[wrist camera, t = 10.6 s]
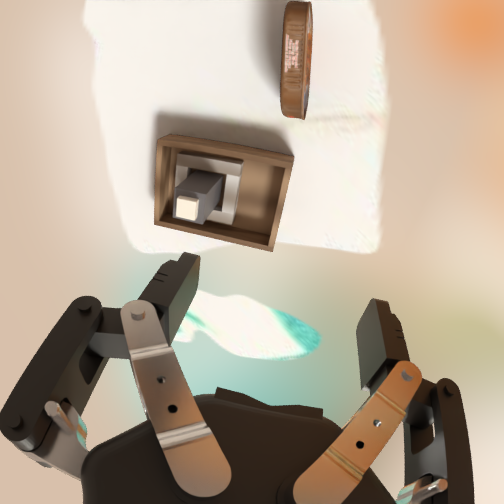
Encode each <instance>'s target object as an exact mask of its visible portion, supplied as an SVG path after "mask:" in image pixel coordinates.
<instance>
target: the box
mask: <svg viewBox="0 0 504 504" xmlns="http://www.w3.org/2000/svg"><path fill="white" fill-rule="evenodd" d="M293 162H294V156H290V155H286V154H281V153H277V152H272V151H267V150H263V149H258V148H253V147H247V146H242V145H237V144H231V143H225V142H220V141H214V140H207V139H201V138H194V137H187V136H180V135H172V134H169V135H167V136H164V137H162V138H160V139H158V141H157V156H156V175H155V204H154V225H158V226H162V227H167V228H171V229H175V230H180V231H184V232H188V233H193V234H197V235H201V236H206V237H210V238H214V239H219V240H223V241H227V242H231V243H236V244H240V245H244V246H249V247H253V248H258V249H261V250H266V251H270V252H273V248H274V244H275V240H276V236H277V232H278V228H279V223H280V219H281V215H282V210H283V206H284V202H285V198H286V193H287V189H288V185H289V180H290V176H291V171H292V167H293ZM196 170H201V171H207V172H212V173H217V174H221V175H224V176H223V182H222V189H221V196H220V201H219V203H218V204H217V205H216V207H215V208H214V209H213V211H212V212H211V214H210V215H209V216H208V218H207V219H206V221H205V222H204V223H203V224H199V223H194V222H190V221H186V220H181V219H177V218H173V205H174V191H175V187H176V186H178V185H179V184H180V183H181V182H182V181H184V180H185V179H186V178H187V177H188V176H190V175H191V174H192V173H193V172H194V171H196Z"/></svg>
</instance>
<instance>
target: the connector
mask: <svg viewBox="0 0 504 504" xmlns="http://www.w3.org/2000/svg"><path fill="white" fill-rule="evenodd" d="M223 176H224V175H221V174H217V173H212V172H207V171H201V170H196V171H194V172H193V173H192V174H191V175H190V176H188V177H187V178H186V179H185V180H184V181H182V182H181V183H180V184H179V185H178V186H176V187H175V191H174V205H173V218H177V219H181V220H186V221H190V222H194V223H199V224H203V223H204V222H205V221H206V219H207V218H208V216H209V215H210V214H211V212H212V211H213V209H214V208H215V207H216V205H217V204H218V203H219V201H220V196H221V189H222V182H223Z"/></svg>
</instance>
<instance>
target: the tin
mask: <svg viewBox="0 0 504 504" xmlns="http://www.w3.org/2000/svg"><path fill="white" fill-rule="evenodd" d="M312 30H313V18H312V4H311V2H298V1H291V2H288V3H287V5H286V8H285V14H284V23H283V40H282V59H281V82H280V102H281V110H282V113H283V115H284V116H286V117H290V118H300V119H303V120H305V116H306V111H307V106H308V97H309V85H310V70H311V54H312V32H313V31H312Z"/></svg>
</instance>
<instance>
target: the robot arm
mask: <svg viewBox="0 0 504 504" xmlns="http://www.w3.org/2000/svg"><path fill="white" fill-rule="evenodd" d="M199 269H200V256H198V255H195V254H191V253H187V252H184V253H183V254H182V255H181V257H180V258H179V260H178V261H174V260H170V261H168V262H166V263H164V264H163V265H162V266H161V267H160V269H159V270H158V271H157V273H156V274H155V276H154V277H153V279H152V280H151V281H150V282H149V284H148V285H147V287H146V288H145V289H144V291H143V292H142V294H141V295H140V297H139V298H138V300H133V301H130V302H128V303H126V304H125V305H124V306H123V307H122V308H106V307H102V305H101V302H100V301H99V300H98V299H97V298H95V297H92V296H82V297H79V298H77V299H75V300H74V301H73V302H72V303H71V304H70V306H69V307H68V308H67V310H66V311H65V313H64V314H63V315H62V317H61V318H60V319H59V321H58V322H57V324H56V325H55V326H54V328H53V329H52V330H51V332H50V333H49V335H48V336H47V338H46V339H45V341H44V342H43V343H42V345H41V346H40V348H39V349H38V351H37V353H36V354H35V355H34V357H33V359H32V360H31V362H30V363H29V365H28V366H27V368H26V369H25V371H24V373H23V374H22V376H21V377H20V379H19V381H18V382H17V384H16V386H15V387H14V389H13V391H12V392H11V394H10V396H9V398H8V399H7V401H6V403H5V405H4V407H3V409H2V410H1V412H0V430H1V432H2V434H3V435H4V436H5V437H6V438H7V439H8V440H9V441H11V442H12V443H13V444H14V445H15V446H16V447H17V448H18V449H19V450H20V451H22V452H23V453H24V454H26V455H27V456H28V457H29V458H31V459H32V460H34V461H36V462H38V463H39V464H40V465H42V466H44V467H49V468H51V467H54V468H56V469H58V470H59V471H61V472H63V473H65V474H67V475H69V476H71V477H73V478H75V479H77V480H79V481H81V483H82V489H83V504H475V503H474V482H473V471H472V460H471V451H470V444H469V437H468V430H467V425H466V419H465V413H464V409H463V403H462V399H461V394H460V390H459V388H458V386H457V385H456V383H454V382H453V381H452V380H450V379H448V378H443V379H440V380H439V381H438V382H437V383H436V384H435V383H432V382H430V381H428V380H425V379H423V378H422V374H421V371H420V370H419V368H418V367H417V366H416V365H415V364H413V363H412V362H410V359H409V354H408V350H407V346H406V342H405V340H404V334H403V332H402V331H403V330H402V326H401V323H400V321H399V320H398V318H397V317H396V315H395V314H392V313H391V311H390V307H389V304H388V302H387V301H383V300H379V299H374V298H373V299H371V300H370V302H369V304H368V306H367V308H366V310H365V312H364V313H363V315H362V317H361V319H360V321H359V323H358V326H357V330H356V336H357V346H358V356H359V366H360V379H361V390H364V391H370V396H369V397H368V399H367V400H366V401H365V402H364V403H363V405H362V406H361V407H360V408H359V409H358V411H357V412H356V413H355V414H354V416H352V417H351V419H350V420H349V421H348V422H347V423H346V424H345V425H344V426H343V427H342V428H340V427H339V426H338V425H336V423H334V422H333V421H331V420H329V419H327V418H325V417H323V409H321V408H314V407H308V406H302V405H283V406H270V405H267V404H265V403H263V402H260V401H258V400H256V399H254V398H252V397H250V396H247V395H245V394H243V393H239V392H235V391H231V390H227V389H223V388H219V387H217V389H216V393H215V394H201V395H196V396H192V393H191V391H190V389H189V386H188V384H187V382H186V379H185V377H184V375H183V372H182V370H181V367H180V365H179V363H178V360H177V358H176V355H175V352H174V350H173V348H172V347H171V346H170V345H171V343H172V341H173V339H174V337H175V335H176V333H177V331H178V329H179V327H180V324H181V322H182V320H183V318H184V316H185V314H186V312H187V310H188V308H189V306H190V304H191V302H192V300H193V298H194V296H195V294H196V291H197V287H198V280H199ZM109 358H121V359H129V360H130V364H131V368H132V371H133V375H134V378H135V382H136V385H137V388H138V392H139V395H140V398H141V402H142V405H143V408H144V411H145V414H146V417H147V421H145V422H143V423H141V424H139V425H137V426H135V427H133V428H131V429H129V430H128V431H125V432H124V433H121V434H119V435H118V436H116V437H113V438H112V439H109V440H107V441H106V442H103V443H101V444H99V445H97V446H96V447H94V448H93V449H92V450H91V451H90V452H89V451H88V450H87V449H86V444H85V443H86V437H87V428H86V425H85V423H84V422H83V420H82V419H81V415H82V413H83V411H84V408H85V406H86V404H87V402H88V400H89V398H90V396H91V394H92V391H93V390H94V388H95V386H96V384H97V381H98V380H99V378H100V376H101V373H102V371H103V370H104V368H105V366H106V364H107V362H108V360H109ZM401 421H402V422H403V425H404V452H405V484H404V487H403V488H402V489H401V491H400V492H399V494H398V497H397V499H396V501H395V500H394V499H393V497H392V496H391V495H390V493H389V492H388V491H387V489H386V488H385V487H384V486H383V484H382V483H381V481H380V480H379V479H378V477H377V476H376V475H375V473H374V472H373V471H372V469H371V468H370V465H371V464H372V463H373V461H374V460H375V459H376V457H377V456H378V455H379V453H380V452H381V451H382V449H383V448H384V446H385V445H386V444H387V442H388V440H389V439H390V438H391V436H392V435H393V433H394V432H395V430H396V429H397V427H398V426H399V424H400V423H401ZM433 423H434V427H435V438H434V437H433V426H432V424H433Z"/></svg>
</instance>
